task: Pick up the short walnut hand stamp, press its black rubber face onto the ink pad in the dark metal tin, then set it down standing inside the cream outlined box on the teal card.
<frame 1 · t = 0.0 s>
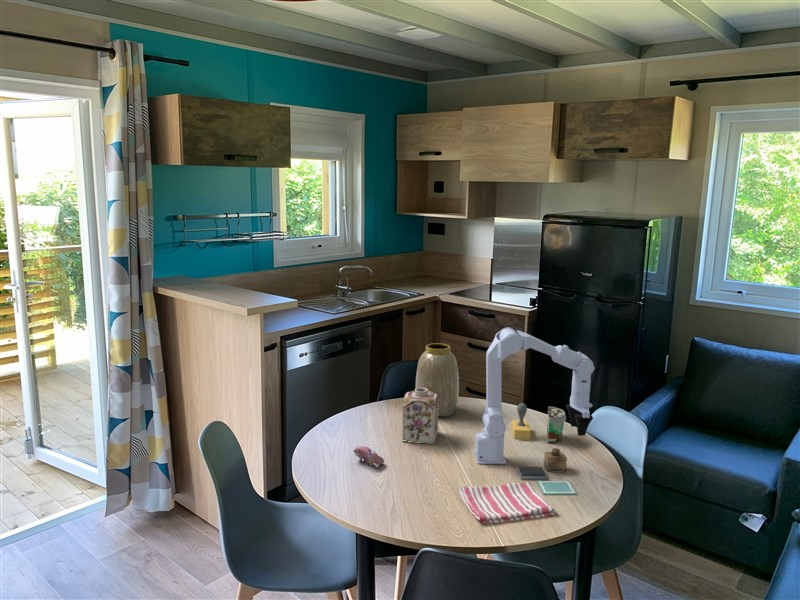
hand: (577, 430, 202), 10 cm above the table, tool pointing down, fingers open, 7 cm apart
dish towel: (506, 507, 174), on the table
vase: (436, 411, 247), on the table
video game controller: (368, 463, 200), on the table
hand stamp: (554, 469, 197), on the table
marked card: (556, 488, 184), on the table
rubber stamp: (520, 434, 225), on the table
ink pad: (531, 475, 193), on the table
food container: (556, 439, 221), on the table
decorative jar: (420, 437, 221), on the table
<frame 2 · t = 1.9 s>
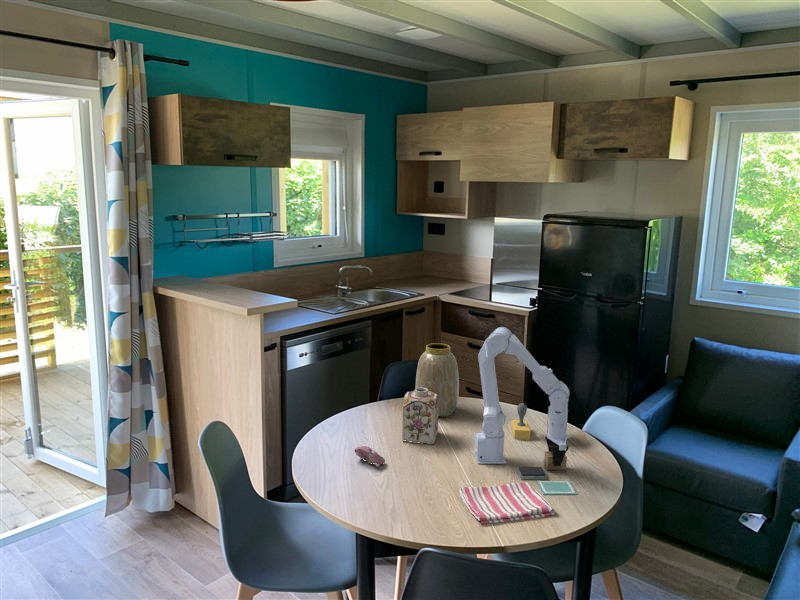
hand: (555, 462, 197), 2 cm above the table, tool pointing down, fingers closed on hand stamp, 4 cm apart
hand stamp: (554, 468, 197), on the table, touching gripper
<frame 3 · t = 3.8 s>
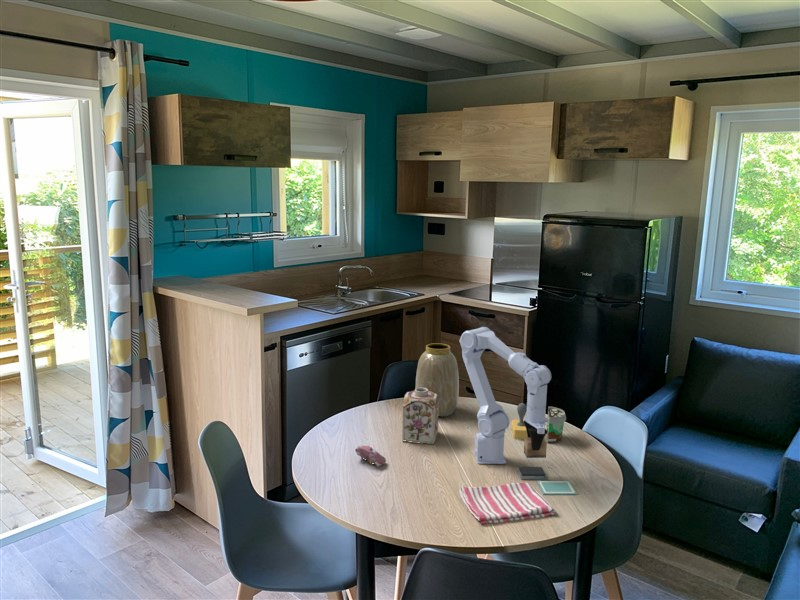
hand: (533, 446, 191), 9 cm above the table, tool pointing down, fingers closed on hand stamp, 4 cm apart
hand stamp: (534, 455, 192), point 7 cm above the table, touching gripper
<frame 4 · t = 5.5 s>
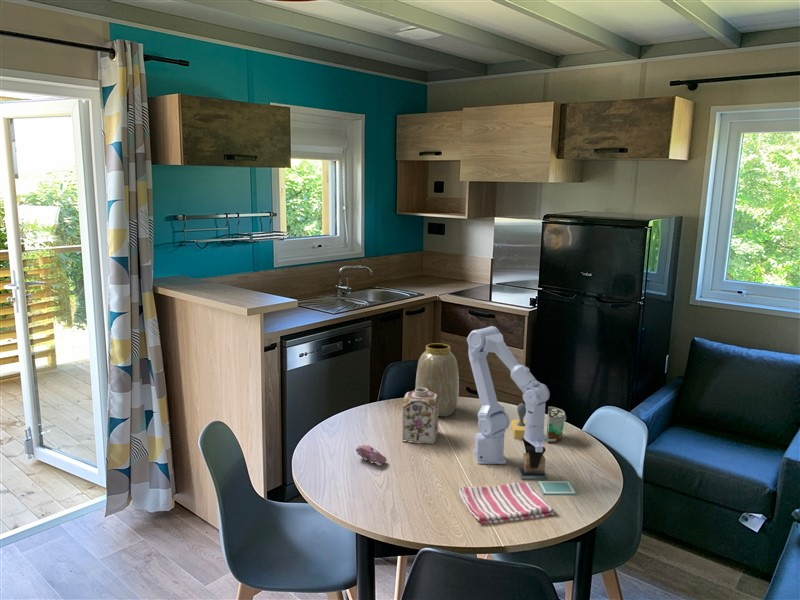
hand: (532, 464, 192), 4 cm above the table, tool pointing down, fingers closed on hand stamp, 4 cm apart
hand stamp: (533, 470, 192), point 1 cm above the table, touching gripper, ink pad
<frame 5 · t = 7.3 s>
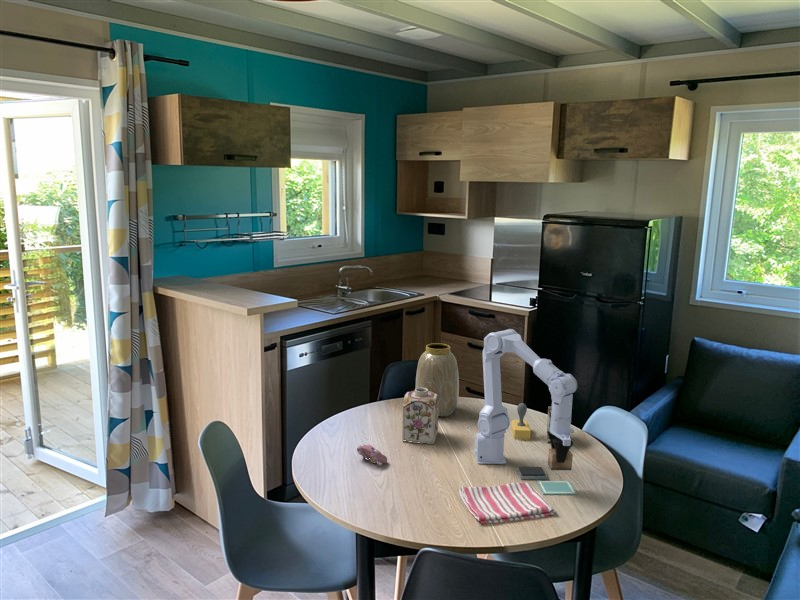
hand: (558, 458, 183), 9 cm above the table, tool pointing down, fingers closed on hand stamp, 4 cm apart
hand stamp: (559, 467, 183), point 7 cm above the table, touching gripper
when the fingers open (3 cm above the table, at t = 9.1 s): hand stamp stays where it is, resting on marked card.
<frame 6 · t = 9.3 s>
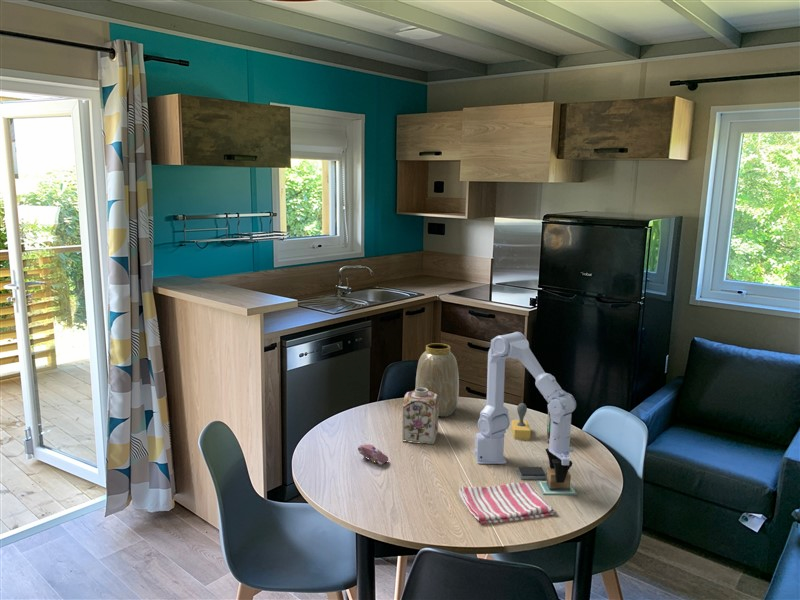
hand: (557, 477, 184), 4 cm above the table, tool pointing down, fingers open, 5 cm apart
hand stamp: (558, 487, 184), resting on marked card
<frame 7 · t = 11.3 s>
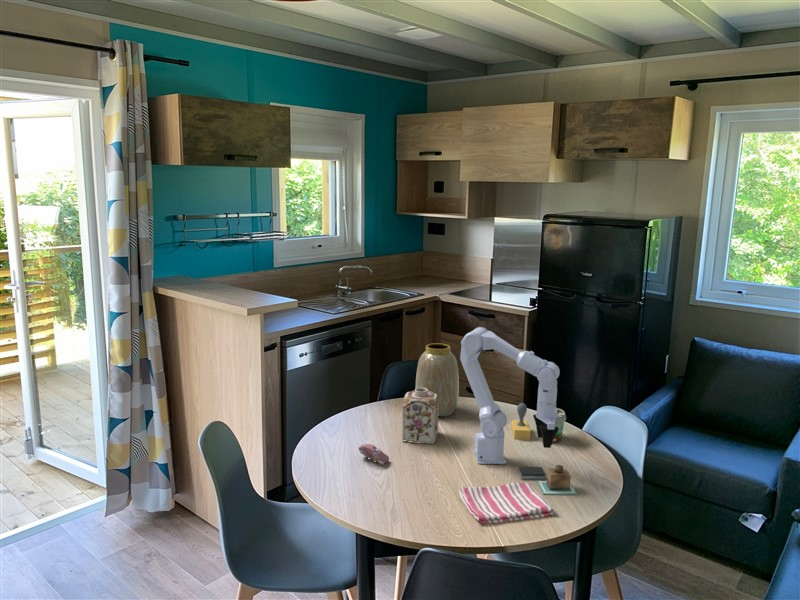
hand: (544, 442, 195), 9 cm above the table, tool pointing down, fingers open, 7 cm apart
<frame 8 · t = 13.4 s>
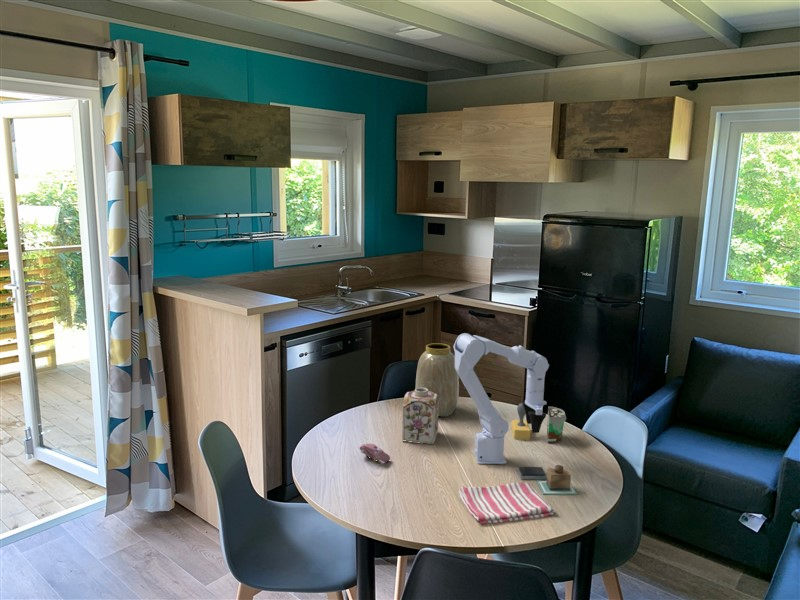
hand: (532, 427, 206), 9 cm above the table, tool pointing down, fingers open, 7 cm apart
at the end: hand stamp 0.4 cm off-centre on the marked card, point 0.3 cm above the marked card's base; hand stamp tilted 0°; the gripper is holding nothing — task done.
